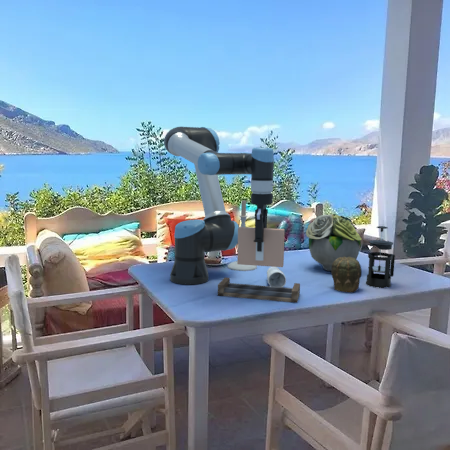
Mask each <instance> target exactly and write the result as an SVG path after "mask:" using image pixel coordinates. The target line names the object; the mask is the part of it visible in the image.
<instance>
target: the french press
mask: <svg viewBox="0 0 450 450" xmlns="http://www.w3.org/2000/svg"><path fill="white" fill-rule="evenodd" d="M376 229H380V232H381V234H380V239H372V240H369V241H368V243H369V247H374V246H375V247H377V248H378V249H379V252H378V251H373V252H369V253H368V254H367V255H368V256H367V259H368V258H369V259H368V268H367V269H368V271H367V273H368V274H366V281H365V284H366V285H367V286H368V285H369V287H371V286H373V288H376V287H379V289H385V288H384V287H388V288H391V286H392V284H391V283H392V282H391V280H392V277H394V274H395V262H396V259H395V258H396V254H394V253H389V252H388V253H387V252H382V251H389V250H392V249H393V245H394V242H393V241H389V240H383V233H384V229H389V228H388V226H383V225H382V226H381V225H380V226H379V225H378V226H376ZM375 261H378V262H379V263H378V265H375ZM381 261H384V262H385V263H384V265H385V266H381ZM380 287H381V288H380Z"/></svg>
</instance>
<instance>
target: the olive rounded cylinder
mask: <svg viewBox="0 0 450 450" xmlns="http://www.w3.org/2000/svg"><path fill="white" fill-rule="evenodd" d="M361 267H362V266H361V264H360V261H359V260H358V259H355V258H351V257H347V258H346V257H343V258H342V257H340V258H337V259H336V260H335V261H334V262H333V264H332V269H331V271H330V273H331V278H332V280H333V288H334V291H338V292H341V293H342V292H343V293H355V292H356V291H358V289H359V287H360V280H361V277H362V268H361Z"/></svg>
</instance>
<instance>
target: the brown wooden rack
mask: <svg viewBox="0 0 450 450" xmlns="http://www.w3.org/2000/svg"><path fill="white" fill-rule="evenodd" d="M230 281H231V278H230V277H224V278H223V279H222V280H220V282H219V283H218V284H217V296H219V297H228V298H241V299H250V300H251V299H252V300H262V301H263V300H265V301H272V302H286V303H295V304H298V301H299V297H300V295H301V294H300V292H301V283H299V282H298V283H297V282H295V283H294V284H293V287H285V286H284V287H272V286H270V285H261V284H260V285H258V284H247V283H236V282H235V283H234V282H233V283H232V282H230Z"/></svg>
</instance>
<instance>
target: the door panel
mask: <svg viewBox="0 0 450 450" xmlns="http://www.w3.org/2000/svg"><path fill="white" fill-rule="evenodd" d="M254 240H255V227H251V226H249V227H248V226H246V227H241V226H239V228H238V243H237V260H236V261H237V264H240V265H255V266H257V267H269V268H270V267H277V268H283V267H284V264H285V263H284V262H285V261H284V260H285V228H271V227H267V228H264V236H263V240H264V241H263V242H264V260H263V261H260V260H256V242H254Z"/></svg>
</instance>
